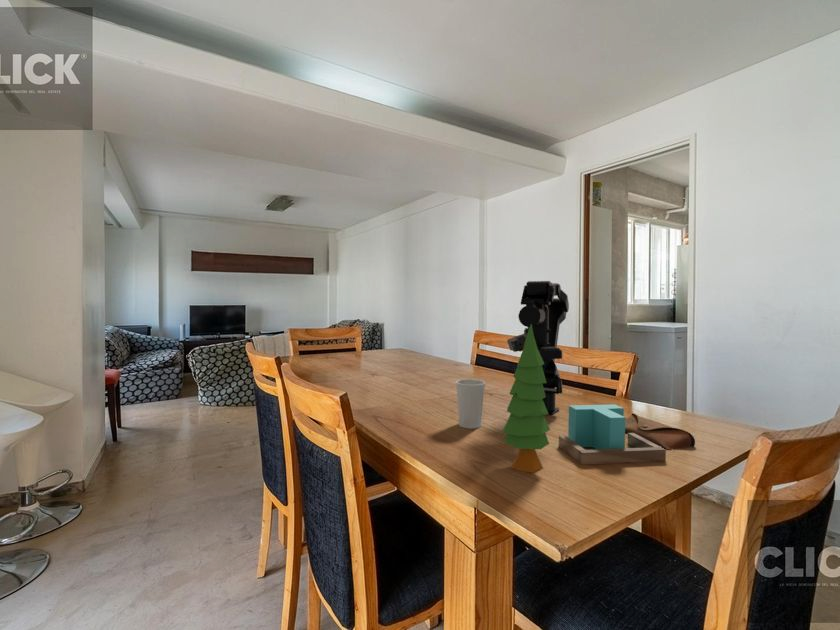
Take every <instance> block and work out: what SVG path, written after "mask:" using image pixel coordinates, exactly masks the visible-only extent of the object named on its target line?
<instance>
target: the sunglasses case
mask: <svg viewBox="0 0 840 630" xmlns="http://www.w3.org/2000/svg"><path fill="white" fill-rule="evenodd" d="M625 432H626V433H625V434H628V433H635V434H637V435H639V436H641V437H643V438H645V439H646V440H648V441H650V442H652V443H654V444H656V445H658V446H661V447H663V448H665V449H666V451H667V450H669V451H673V450H679V449H680V450H681V449H685V448H691V447H692V448H695V445H696V439H695V438H694V435H692V434H691V432H688V431H687V430H684V429H681V428H677V427H672V426H670V425H667V424H664V423H661V422H659V421H655V420H651V419H649V418H645V417H642V416H641V415H639V414H638V415H637V414H636V413H631V414H630V415H629V416H627V418H625ZM672 449H673V450H672Z"/></svg>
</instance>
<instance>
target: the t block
mask: <svg viewBox="0 0 840 630" xmlns="http://www.w3.org/2000/svg"><path fill="white" fill-rule="evenodd" d="M624 412H625V408H624V407H623V406H620V405H617V404H615V403H614V404H585V405H583V404H582V405H581V404H580V405H579V404H578V405H577V404H576V405H568V429H567V430H568V432H567V433H568V434H567V437H568V438H570V439H571V440H572V441H574V442H575V443H576V444H578V445H579V446H581V447H582V448H587V447H589V448H590V447H591V448H594V450H597V449H622V448H626V433H625V419H626V417H625V416H624V415H625V414H624Z"/></svg>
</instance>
